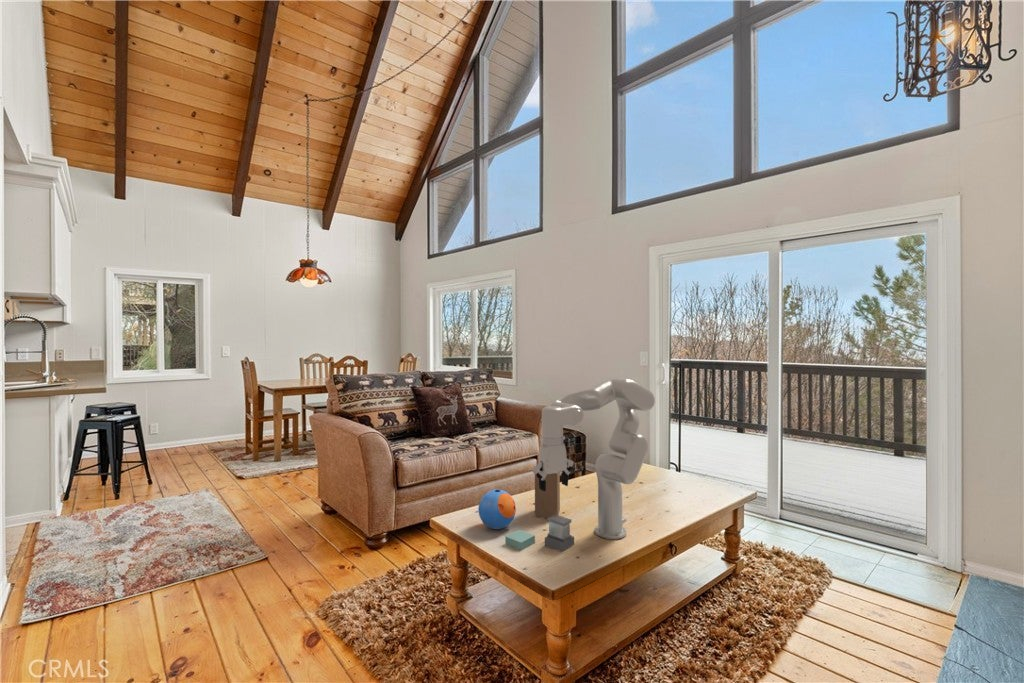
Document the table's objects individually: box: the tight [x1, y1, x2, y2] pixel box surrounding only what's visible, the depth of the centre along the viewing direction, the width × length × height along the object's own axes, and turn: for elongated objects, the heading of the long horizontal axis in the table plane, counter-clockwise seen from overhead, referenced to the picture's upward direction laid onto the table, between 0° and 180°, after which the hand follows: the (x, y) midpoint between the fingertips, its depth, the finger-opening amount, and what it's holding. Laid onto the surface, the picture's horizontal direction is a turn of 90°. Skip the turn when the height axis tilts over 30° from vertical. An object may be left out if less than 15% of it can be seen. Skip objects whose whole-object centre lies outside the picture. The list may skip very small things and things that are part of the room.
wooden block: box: [534, 470, 561, 519], centre depth 208 cm, size 10×10×20 cm
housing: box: [546, 514, 573, 542], centre depth 178 cm, size 5×8×7 cm, turn 48°
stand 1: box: [504, 529, 536, 551], centre depth 180 cm, size 8×8×3 cm
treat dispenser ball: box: [478, 489, 517, 530], centre depth 195 cm, size 16×15×15 cm
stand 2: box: [544, 535, 575, 553], centre depth 178 cm, size 8×8×3 cm
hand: (553, 487), depth 170 cm, fingers open, 9 cm apart
